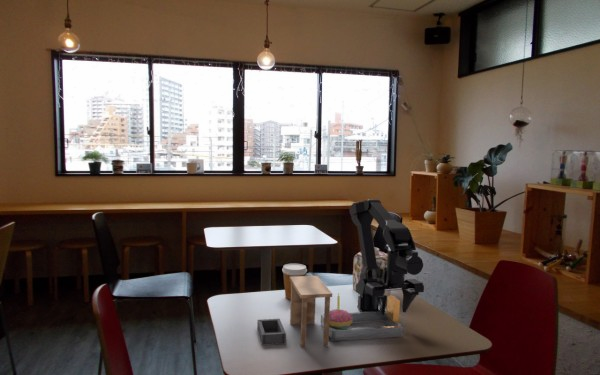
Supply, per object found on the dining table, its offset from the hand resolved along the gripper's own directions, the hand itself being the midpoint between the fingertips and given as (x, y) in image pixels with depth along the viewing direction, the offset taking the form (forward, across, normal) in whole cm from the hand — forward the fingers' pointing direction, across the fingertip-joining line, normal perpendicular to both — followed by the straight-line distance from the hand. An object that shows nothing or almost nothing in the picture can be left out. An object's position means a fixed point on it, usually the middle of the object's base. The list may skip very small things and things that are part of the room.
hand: (393, 313), depth 138 cm
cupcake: (+5, +18, -2) cm, 19 cm away
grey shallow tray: (+5, +11, -1) cm, 12 cm away
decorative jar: (+5, -10, -33) cm, 35 cm away
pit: (+5, +39, -5) cm, 40 cm away
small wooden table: (+5, +28, -3) cm, 28 cm away
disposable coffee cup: (+5, +22, -35) cm, 41 cm away
